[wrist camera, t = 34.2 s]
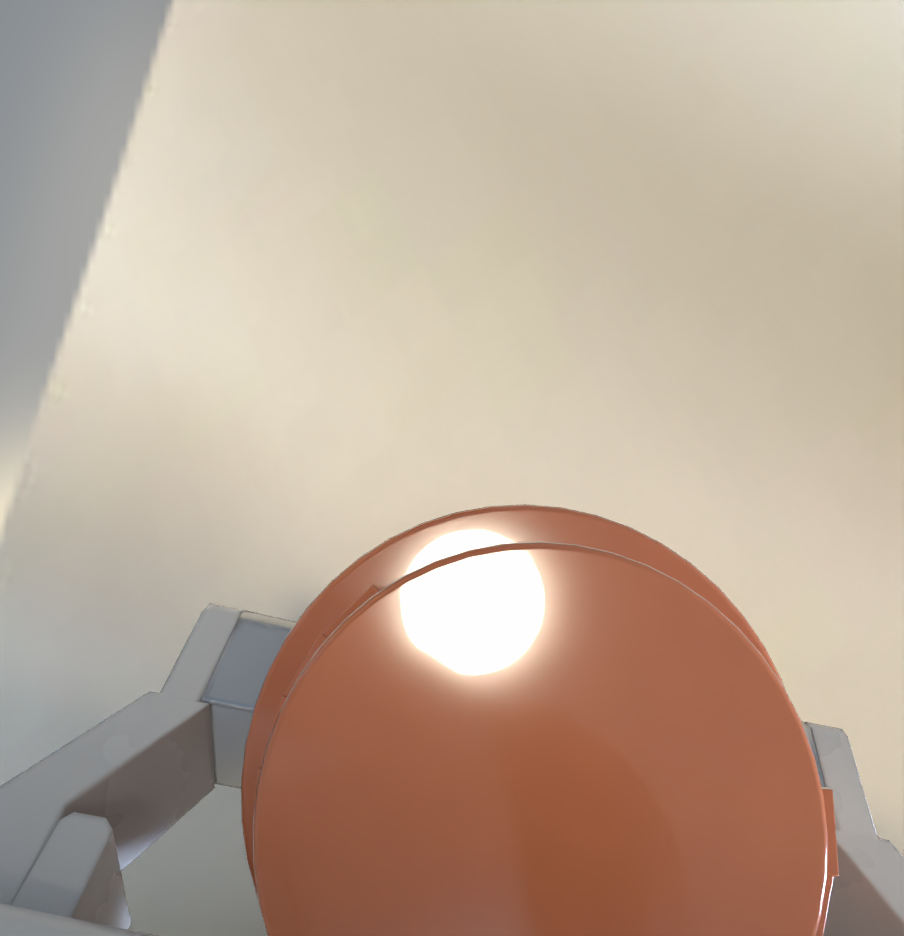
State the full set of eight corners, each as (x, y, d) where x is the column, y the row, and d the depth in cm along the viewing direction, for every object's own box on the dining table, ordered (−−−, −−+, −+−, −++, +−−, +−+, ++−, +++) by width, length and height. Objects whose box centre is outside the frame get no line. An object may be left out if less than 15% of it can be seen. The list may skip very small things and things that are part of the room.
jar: (340, 834, 17) (169, 1213, 7) (350, 542, 18) (213, 480, 8) (631, 839, 17) (911, 1228, 7) (627, 547, 18) (870, 492, 8)
